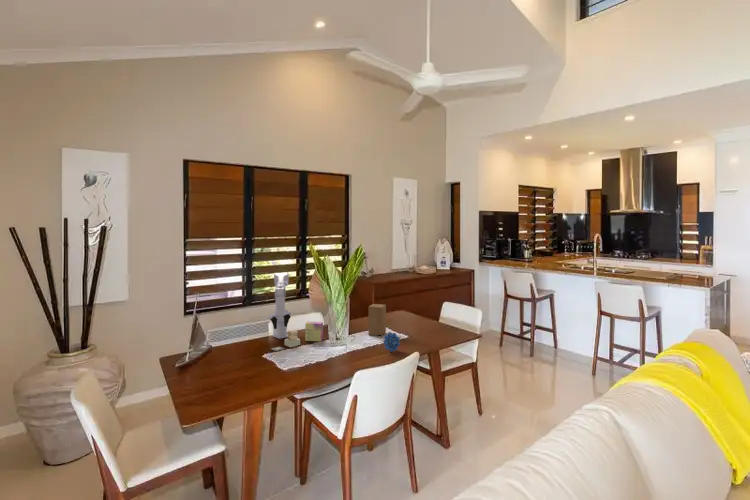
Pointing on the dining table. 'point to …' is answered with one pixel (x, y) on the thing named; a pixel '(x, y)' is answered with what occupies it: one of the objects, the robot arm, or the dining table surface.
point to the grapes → (391, 341)
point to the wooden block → (377, 319)
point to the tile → (277, 348)
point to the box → (313, 331)
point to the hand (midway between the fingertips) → (280, 327)
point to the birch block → (292, 335)
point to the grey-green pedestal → (292, 342)
